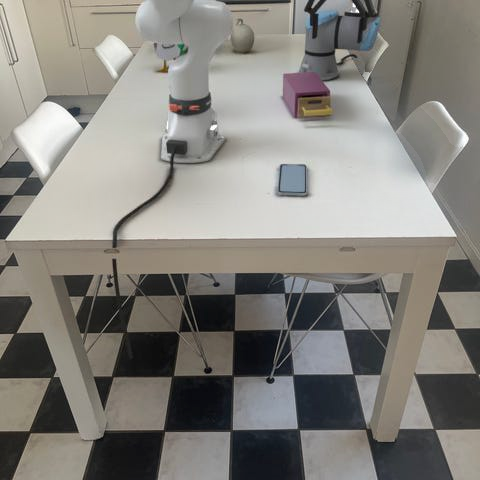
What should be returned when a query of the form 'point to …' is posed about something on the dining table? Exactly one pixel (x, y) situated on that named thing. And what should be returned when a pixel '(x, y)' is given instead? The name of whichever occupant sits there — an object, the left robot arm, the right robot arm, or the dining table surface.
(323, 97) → the drawer
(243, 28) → the fruit
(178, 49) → the toy
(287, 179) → the smartphone
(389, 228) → the dining table surface
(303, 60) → the right robot arm
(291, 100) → the purple drawer cabinet
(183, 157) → the left robot arm
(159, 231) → the dining table surface
